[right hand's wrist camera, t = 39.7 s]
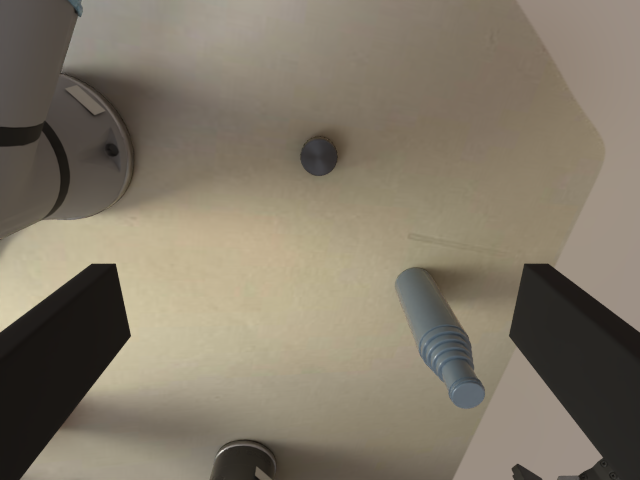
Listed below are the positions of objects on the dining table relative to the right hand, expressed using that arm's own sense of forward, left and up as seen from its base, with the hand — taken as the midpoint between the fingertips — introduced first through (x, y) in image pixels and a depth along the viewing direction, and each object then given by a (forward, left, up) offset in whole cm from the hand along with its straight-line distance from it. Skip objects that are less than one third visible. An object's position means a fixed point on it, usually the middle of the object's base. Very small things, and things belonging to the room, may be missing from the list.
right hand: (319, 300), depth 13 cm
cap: (0, 0, -30) cm, 30 cm away
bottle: (-4, -20, -32) cm, 37 cm away
